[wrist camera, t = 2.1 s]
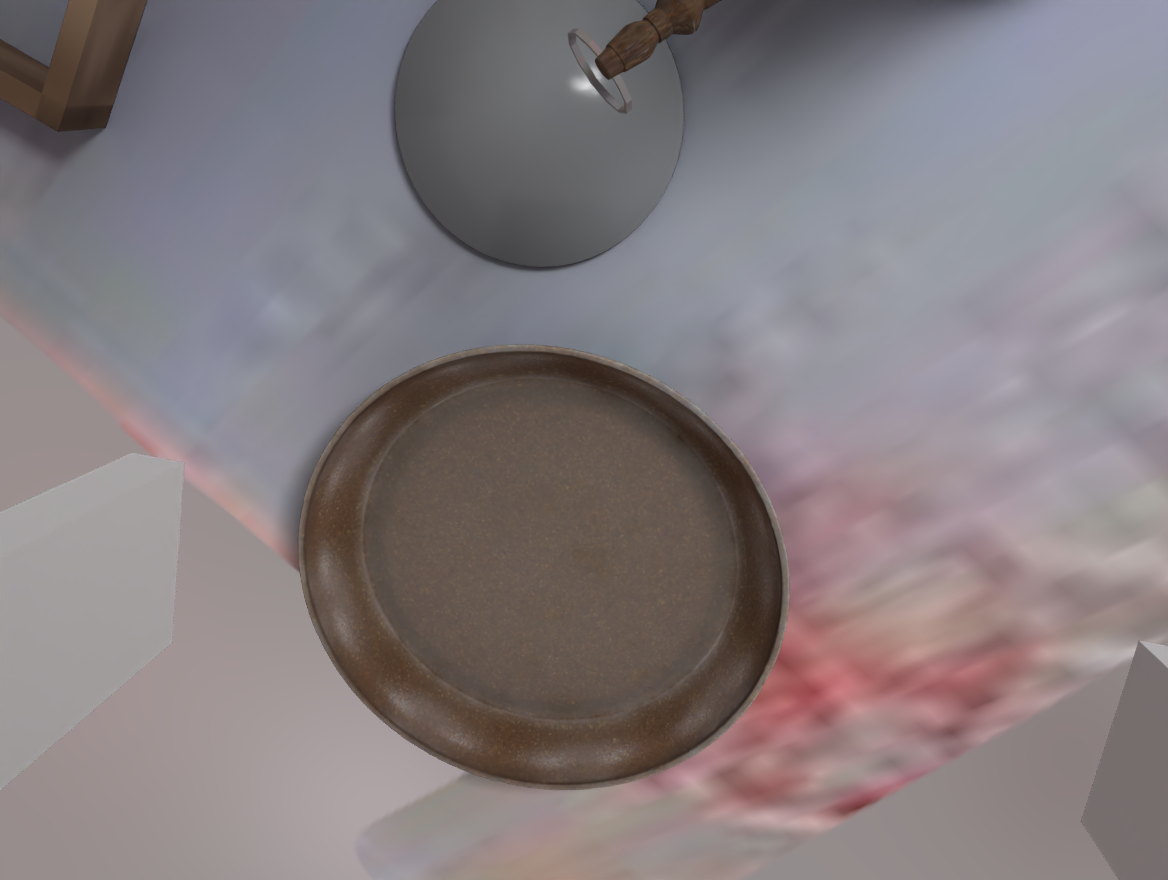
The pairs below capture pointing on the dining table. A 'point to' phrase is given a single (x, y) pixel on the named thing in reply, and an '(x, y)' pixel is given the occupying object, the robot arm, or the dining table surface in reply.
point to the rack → (75, 66)
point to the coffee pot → (637, 43)
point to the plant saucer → (543, 567)
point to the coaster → (534, 127)
